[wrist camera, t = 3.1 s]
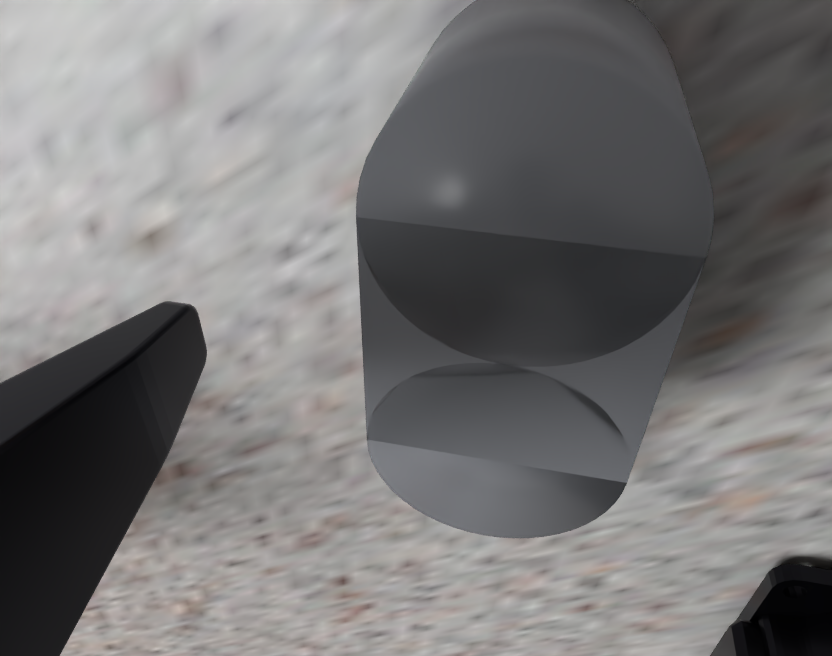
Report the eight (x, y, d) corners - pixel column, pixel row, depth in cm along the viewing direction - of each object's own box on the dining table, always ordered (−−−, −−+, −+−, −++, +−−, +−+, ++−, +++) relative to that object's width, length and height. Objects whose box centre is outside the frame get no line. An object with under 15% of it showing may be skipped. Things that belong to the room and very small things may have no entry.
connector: (715, -14, 9) (770, 74, 6) (581, 468, 15) (579, 615, 12) (416, -33, 9) (347, 41, 7) (410, 440, 16) (373, 574, 13)
